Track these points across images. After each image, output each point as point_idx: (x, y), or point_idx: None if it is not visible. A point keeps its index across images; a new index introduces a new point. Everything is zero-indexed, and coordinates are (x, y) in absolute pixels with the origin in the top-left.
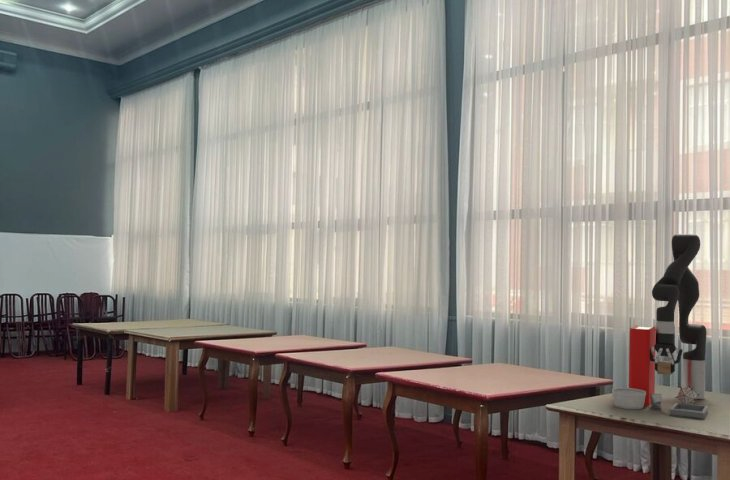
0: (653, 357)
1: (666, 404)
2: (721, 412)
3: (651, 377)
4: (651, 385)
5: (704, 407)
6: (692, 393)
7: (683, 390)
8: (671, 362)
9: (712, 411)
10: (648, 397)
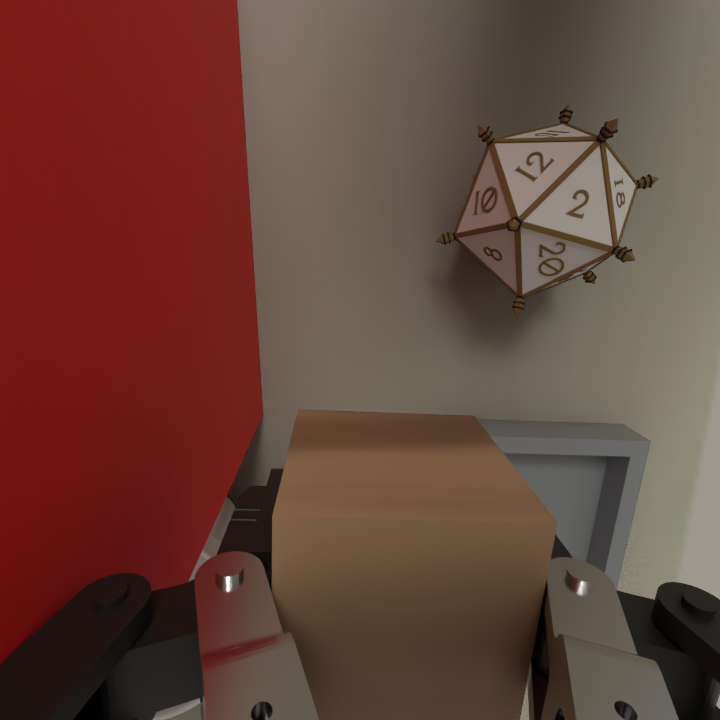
0: (114, 665)
1: (366, 273)
2: (707, 365)
3: (187, 226)
4: (216, 216)
5: (619, 505)
6: (597, 262)
7: (529, 253)
8: (538, 687)
9: (656, 364)
10: (250, 441)
